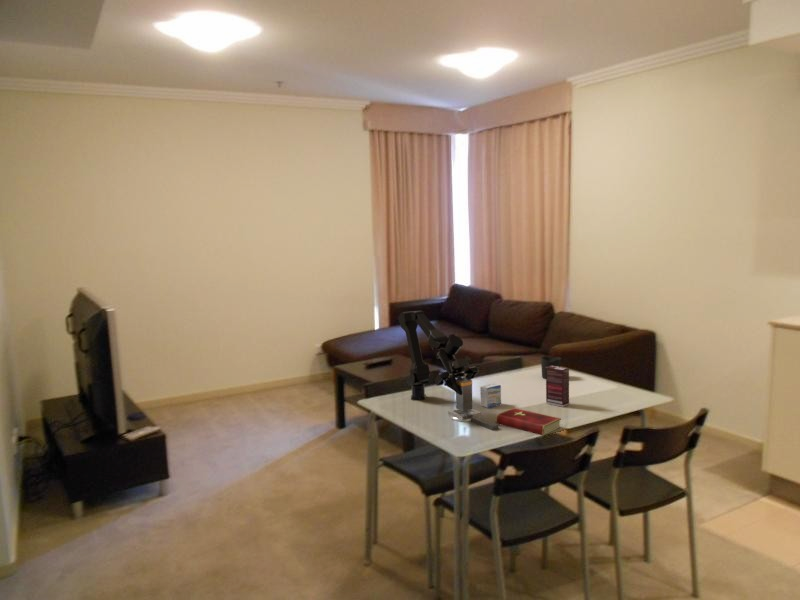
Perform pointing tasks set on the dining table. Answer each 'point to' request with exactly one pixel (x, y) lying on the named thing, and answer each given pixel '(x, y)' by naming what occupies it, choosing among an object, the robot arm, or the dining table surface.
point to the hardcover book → (528, 421)
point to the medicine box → (490, 395)
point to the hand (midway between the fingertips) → (466, 393)
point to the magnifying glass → (472, 418)
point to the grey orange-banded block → (464, 394)
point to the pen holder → (549, 363)
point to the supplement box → (557, 386)
